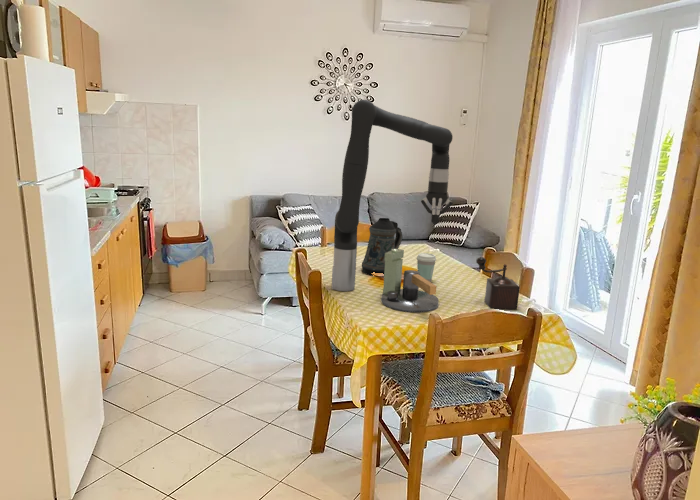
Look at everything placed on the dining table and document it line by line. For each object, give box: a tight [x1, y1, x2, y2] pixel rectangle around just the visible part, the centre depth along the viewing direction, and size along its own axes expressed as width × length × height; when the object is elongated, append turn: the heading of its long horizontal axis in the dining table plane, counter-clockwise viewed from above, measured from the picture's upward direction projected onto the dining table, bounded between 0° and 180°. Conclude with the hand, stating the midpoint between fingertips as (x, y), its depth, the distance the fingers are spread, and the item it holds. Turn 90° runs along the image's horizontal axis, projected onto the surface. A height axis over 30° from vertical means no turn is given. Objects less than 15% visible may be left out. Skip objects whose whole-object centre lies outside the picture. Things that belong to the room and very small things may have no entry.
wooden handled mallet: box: [402, 269, 438, 300], centre depth 198 cm, size 21×6×10 cm, turn 18°
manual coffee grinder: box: [475, 256, 520, 311], centre depth 207 cm, size 16×11×18 cm
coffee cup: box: [416, 252, 437, 283], centre depth 234 cm, size 8×9×12 cm
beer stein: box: [361, 217, 403, 277], centre depth 245 cm, size 16×19×25 cm
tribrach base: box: [380, 248, 440, 314], centre depth 204 cm, size 22×22×20 cm
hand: (434, 223), depth 212 cm, fingers closed
